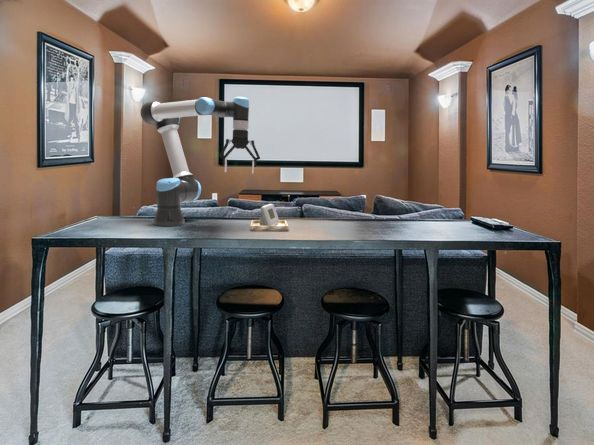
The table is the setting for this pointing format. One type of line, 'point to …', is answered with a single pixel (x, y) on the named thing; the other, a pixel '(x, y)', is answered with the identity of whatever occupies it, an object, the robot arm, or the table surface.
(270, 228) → the birch tray
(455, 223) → the table surface
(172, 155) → the robot arm
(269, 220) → the digital clock
